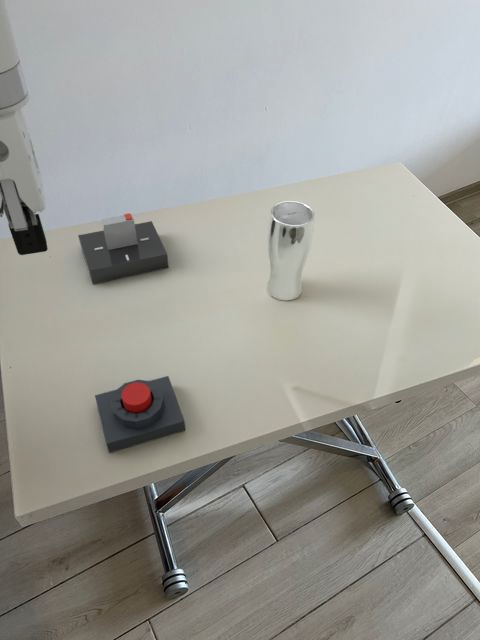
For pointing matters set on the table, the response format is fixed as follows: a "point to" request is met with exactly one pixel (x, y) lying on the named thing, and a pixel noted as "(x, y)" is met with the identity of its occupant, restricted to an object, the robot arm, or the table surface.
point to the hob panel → (123, 255)
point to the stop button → (136, 397)
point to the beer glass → (288, 247)
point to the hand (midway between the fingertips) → (33, 248)
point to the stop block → (139, 416)
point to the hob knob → (119, 231)
